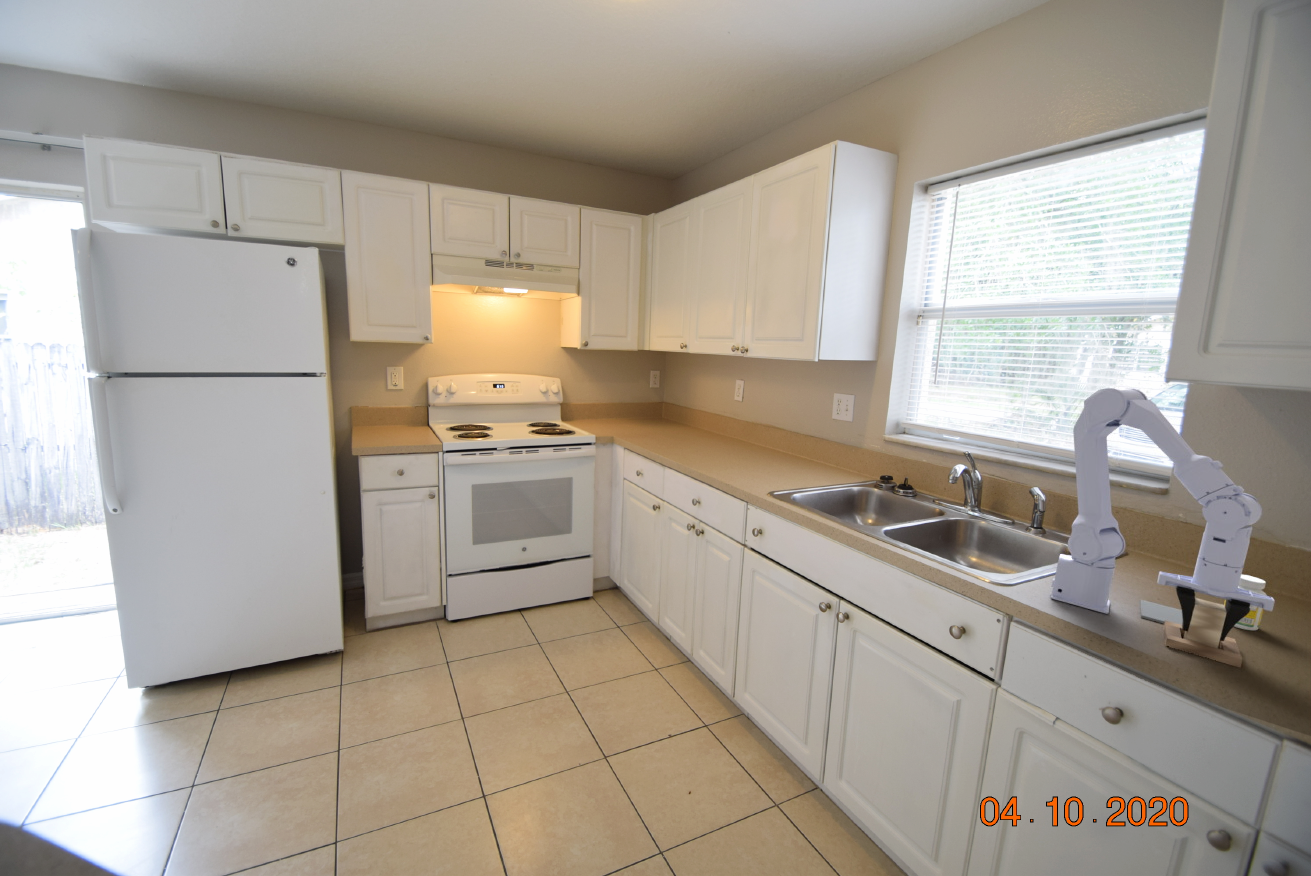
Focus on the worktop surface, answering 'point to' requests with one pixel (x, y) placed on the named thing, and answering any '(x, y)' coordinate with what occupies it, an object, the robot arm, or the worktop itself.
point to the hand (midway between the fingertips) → (1202, 633)
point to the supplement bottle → (1255, 614)
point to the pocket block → (1202, 646)
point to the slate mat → (1160, 612)
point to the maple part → (1206, 623)
